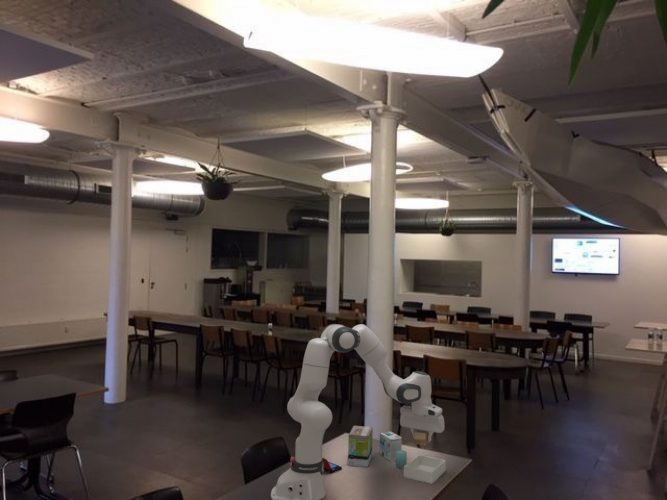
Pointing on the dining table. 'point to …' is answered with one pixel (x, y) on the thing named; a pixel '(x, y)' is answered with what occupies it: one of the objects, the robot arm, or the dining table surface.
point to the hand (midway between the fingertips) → (422, 439)
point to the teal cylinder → (401, 459)
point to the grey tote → (424, 469)
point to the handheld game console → (330, 466)
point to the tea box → (360, 446)
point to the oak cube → (421, 437)
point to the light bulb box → (390, 445)
